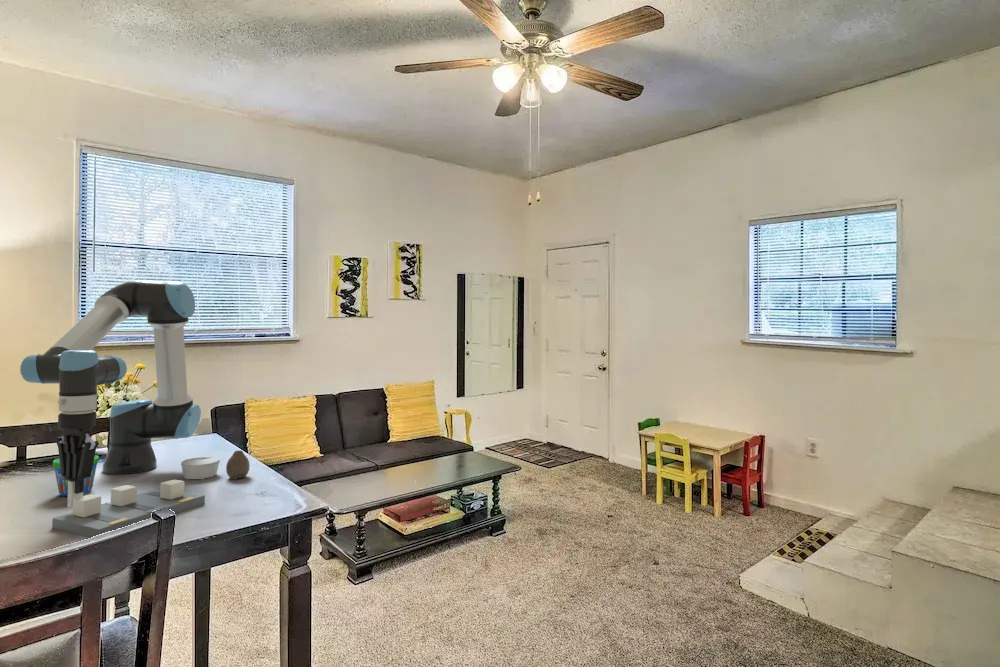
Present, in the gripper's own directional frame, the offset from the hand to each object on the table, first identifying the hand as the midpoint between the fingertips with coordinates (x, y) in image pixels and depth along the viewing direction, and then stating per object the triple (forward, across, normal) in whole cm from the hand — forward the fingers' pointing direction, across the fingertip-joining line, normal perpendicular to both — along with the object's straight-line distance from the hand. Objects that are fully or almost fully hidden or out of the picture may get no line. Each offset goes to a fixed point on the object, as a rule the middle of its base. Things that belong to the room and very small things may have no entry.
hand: (75, 505), depth 133 cm
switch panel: (+4, +8, +9) cm, 13 cm away
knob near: (+2, +4, 0) cm, 4 cm away
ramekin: (+4, -8, +42) cm, 43 cm away
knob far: (+2, +10, +18) cm, 21 cm away
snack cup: (+4, -24, +14) cm, 28 cm away
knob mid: (+2, +4, +9) cm, 10 cm away
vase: (+4, +4, +46) cm, 47 cm away
